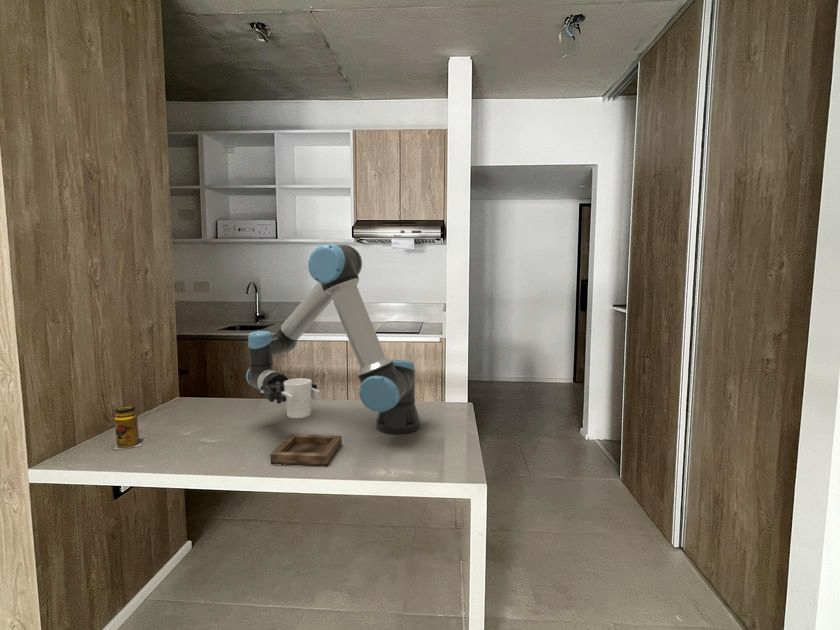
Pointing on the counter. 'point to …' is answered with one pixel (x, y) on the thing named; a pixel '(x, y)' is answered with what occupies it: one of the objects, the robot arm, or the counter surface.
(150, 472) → the counter surface
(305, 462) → the wooden tray
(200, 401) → the counter surface
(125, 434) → the condiment
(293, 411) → the white cup
